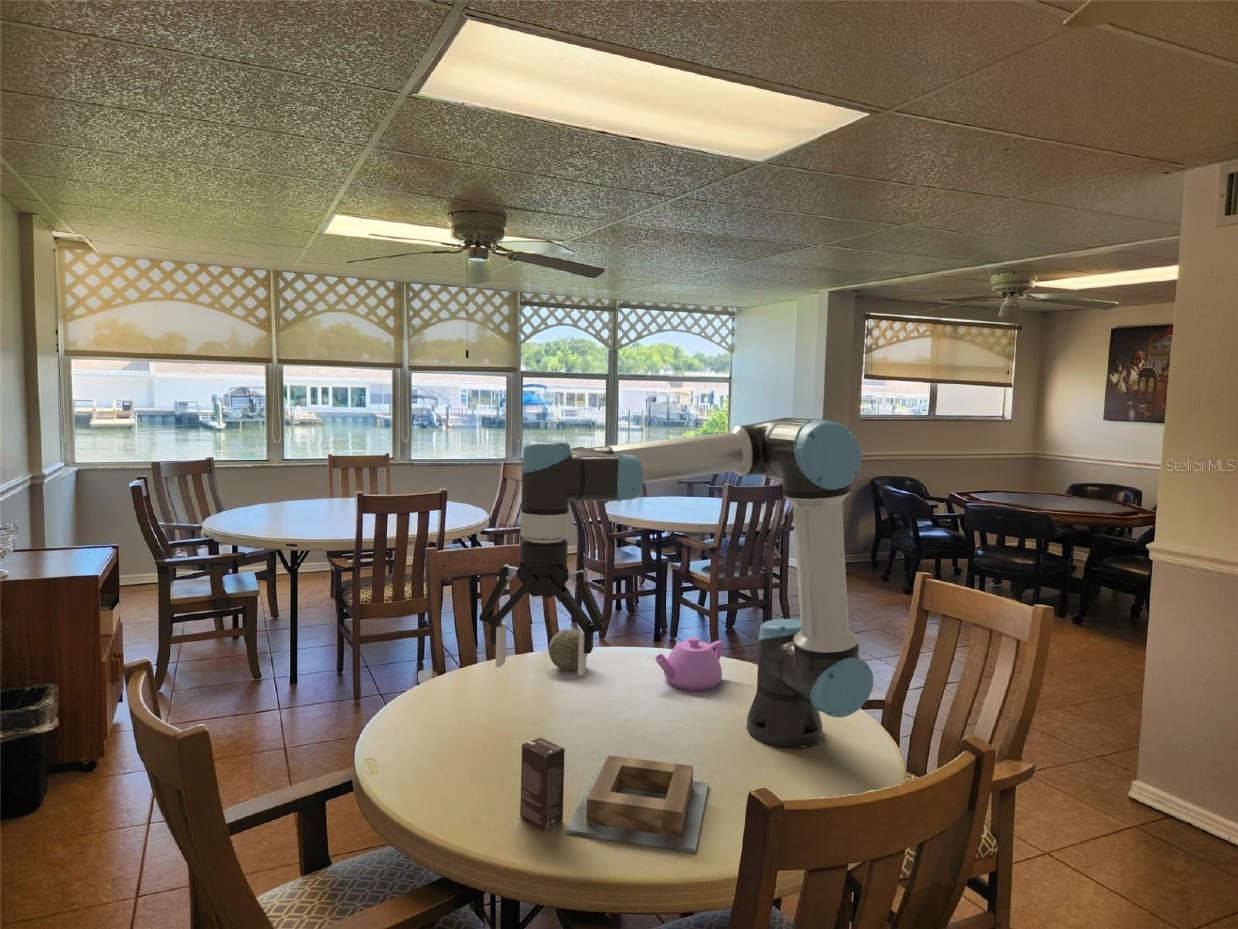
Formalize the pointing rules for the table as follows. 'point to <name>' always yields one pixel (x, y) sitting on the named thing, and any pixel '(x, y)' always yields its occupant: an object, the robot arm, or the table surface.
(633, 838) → the socket
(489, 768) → the table surface
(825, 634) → the robot arm
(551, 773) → the box
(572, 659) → the decorative stone
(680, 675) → the teapot
